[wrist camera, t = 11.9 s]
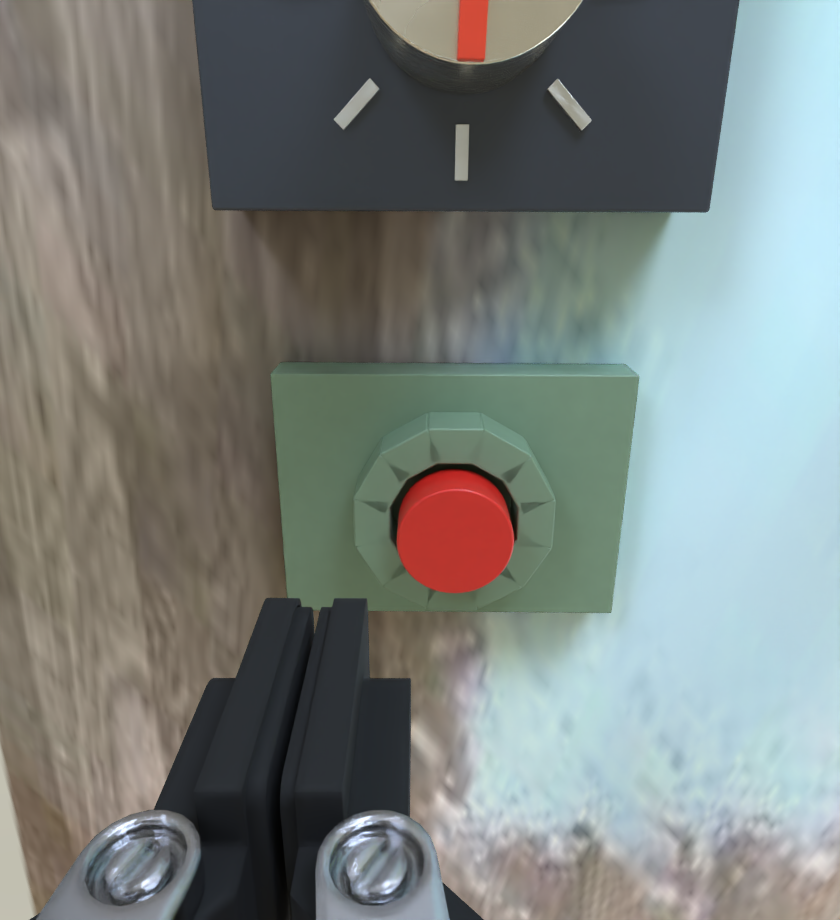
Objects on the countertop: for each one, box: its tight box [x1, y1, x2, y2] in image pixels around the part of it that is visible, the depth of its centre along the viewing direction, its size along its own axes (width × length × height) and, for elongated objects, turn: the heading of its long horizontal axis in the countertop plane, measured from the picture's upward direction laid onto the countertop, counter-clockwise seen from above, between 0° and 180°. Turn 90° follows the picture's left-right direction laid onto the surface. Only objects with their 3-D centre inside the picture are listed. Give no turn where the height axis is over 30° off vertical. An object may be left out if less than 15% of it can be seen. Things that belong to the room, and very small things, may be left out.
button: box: [397, 469, 514, 593], centre depth 22 cm, size 4×4×2 cm
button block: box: [270, 362, 639, 613], centre depth 24 cm, size 12×9×4 cm
